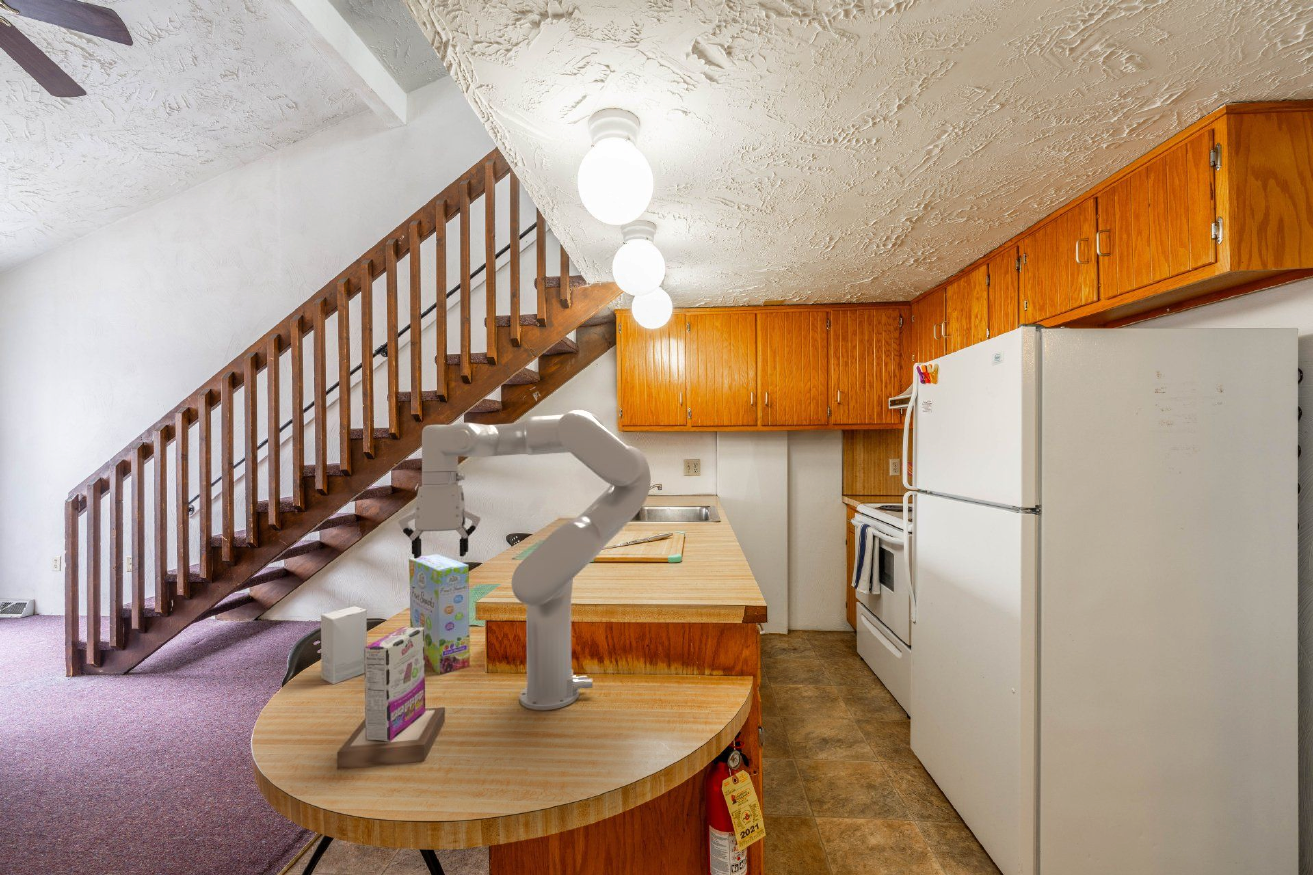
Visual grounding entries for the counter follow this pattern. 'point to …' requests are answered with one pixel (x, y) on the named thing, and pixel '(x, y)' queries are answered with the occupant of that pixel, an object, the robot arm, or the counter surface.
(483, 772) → the counter surface
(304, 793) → the counter surface
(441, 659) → the snack box
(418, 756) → the base
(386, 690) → the candy bar box
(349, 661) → the skincare box
